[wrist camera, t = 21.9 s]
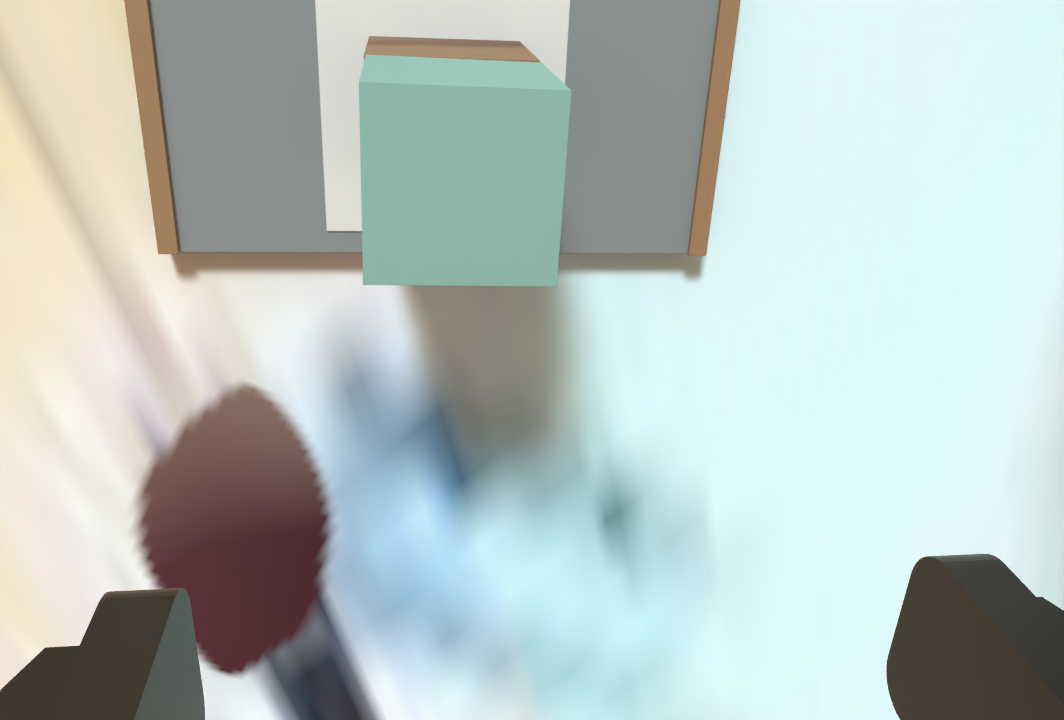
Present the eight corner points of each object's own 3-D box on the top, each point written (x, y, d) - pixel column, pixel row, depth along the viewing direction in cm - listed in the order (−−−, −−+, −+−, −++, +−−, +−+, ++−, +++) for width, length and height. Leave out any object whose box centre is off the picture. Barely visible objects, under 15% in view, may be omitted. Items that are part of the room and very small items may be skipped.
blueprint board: (127, -59, 35) (116, -59, 33) (731, -30, 38) (744, -29, 36) (166, 242, 40) (158, 253, 38) (696, 245, 43) (705, 255, 42)
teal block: (366, 54, 31) (359, 81, 25) (542, 62, 31) (571, 90, 26) (369, 226, 33) (363, 284, 28) (532, 229, 34) (556, 286, 29)
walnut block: (369, 35, 36) (363, 55, 31) (519, 41, 37) (539, 60, 31) (373, 185, 38) (369, 227, 33) (513, 186, 39) (532, 228, 34)
